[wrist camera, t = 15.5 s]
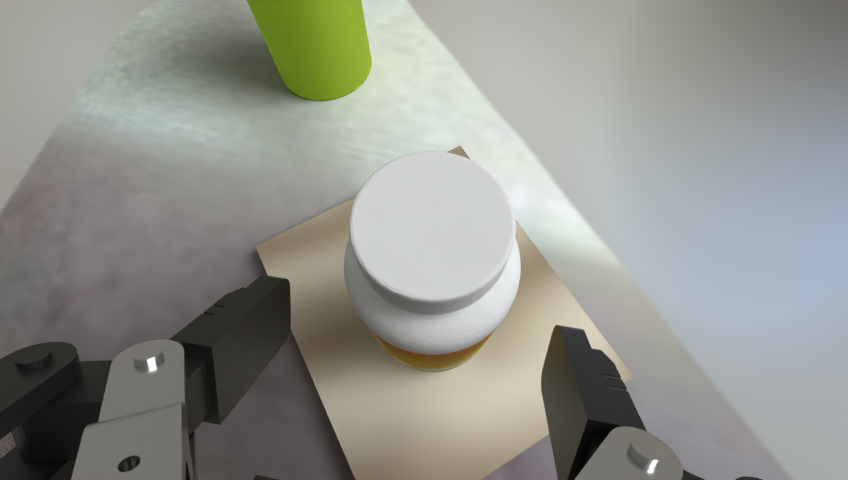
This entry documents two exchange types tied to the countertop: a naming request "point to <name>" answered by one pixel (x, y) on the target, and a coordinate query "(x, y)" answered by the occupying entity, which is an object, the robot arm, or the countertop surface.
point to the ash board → (414, 390)
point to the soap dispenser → (316, 44)
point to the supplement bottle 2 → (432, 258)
